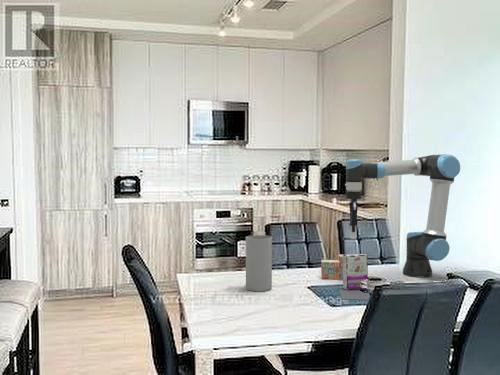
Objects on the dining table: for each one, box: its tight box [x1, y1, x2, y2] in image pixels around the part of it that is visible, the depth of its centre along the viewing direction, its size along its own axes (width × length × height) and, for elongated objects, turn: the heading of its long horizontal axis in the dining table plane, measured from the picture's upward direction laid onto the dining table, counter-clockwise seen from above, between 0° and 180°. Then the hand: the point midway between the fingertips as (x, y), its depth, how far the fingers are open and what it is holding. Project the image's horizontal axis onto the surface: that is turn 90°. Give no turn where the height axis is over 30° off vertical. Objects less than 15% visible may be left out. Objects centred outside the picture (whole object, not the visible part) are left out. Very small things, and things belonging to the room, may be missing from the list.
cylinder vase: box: [245, 234, 273, 293], centre depth 245 cm, size 12×12×25 cm
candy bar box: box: [342, 253, 369, 290], centre depth 244 cm, size 11×5×16 cm, turn 105°
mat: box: [338, 289, 370, 301], centre depth 233 cm, size 16×16×1 cm
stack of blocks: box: [320, 254, 344, 281], centre depth 266 cm, size 21×6×12 cm, turn 86°
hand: (353, 238), depth 251 cm, fingers closed
